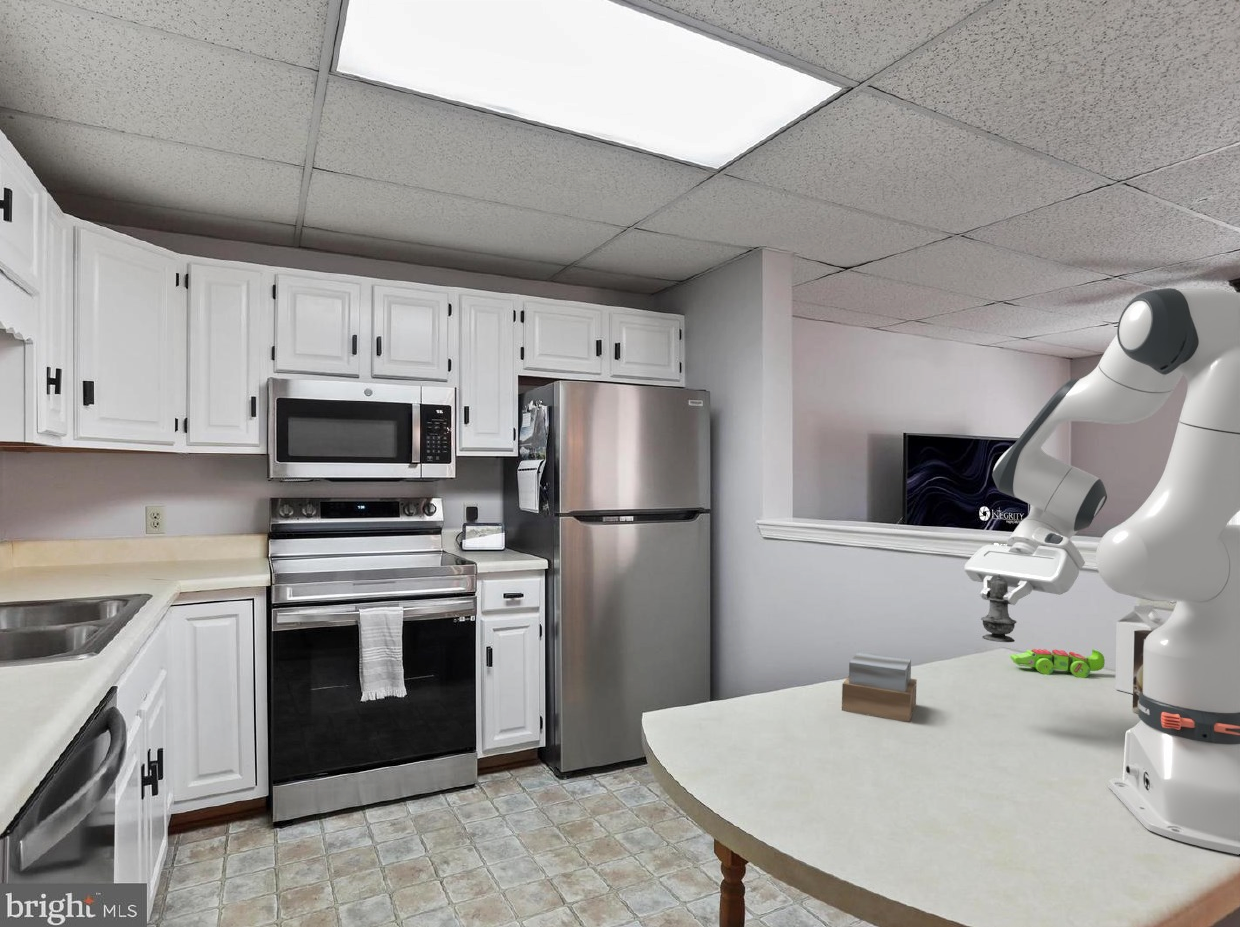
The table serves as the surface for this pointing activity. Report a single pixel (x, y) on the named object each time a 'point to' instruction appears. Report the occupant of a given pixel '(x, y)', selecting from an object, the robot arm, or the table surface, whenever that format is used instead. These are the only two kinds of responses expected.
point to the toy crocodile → (1060, 661)
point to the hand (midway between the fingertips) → (996, 600)
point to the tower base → (879, 701)
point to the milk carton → (1132, 642)
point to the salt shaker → (998, 613)
